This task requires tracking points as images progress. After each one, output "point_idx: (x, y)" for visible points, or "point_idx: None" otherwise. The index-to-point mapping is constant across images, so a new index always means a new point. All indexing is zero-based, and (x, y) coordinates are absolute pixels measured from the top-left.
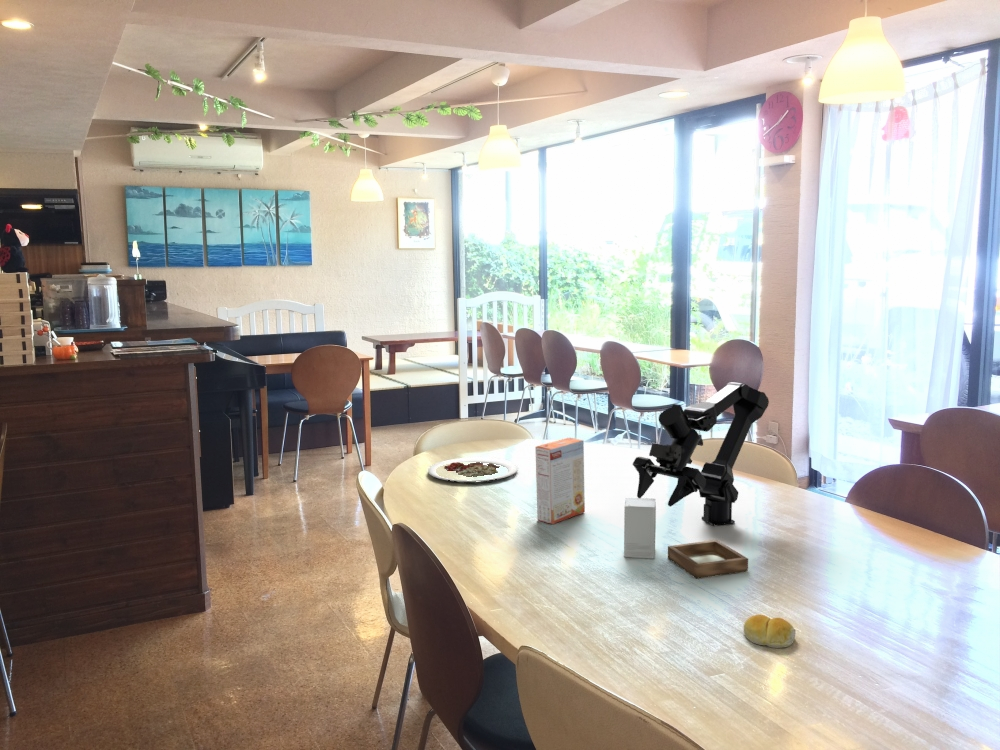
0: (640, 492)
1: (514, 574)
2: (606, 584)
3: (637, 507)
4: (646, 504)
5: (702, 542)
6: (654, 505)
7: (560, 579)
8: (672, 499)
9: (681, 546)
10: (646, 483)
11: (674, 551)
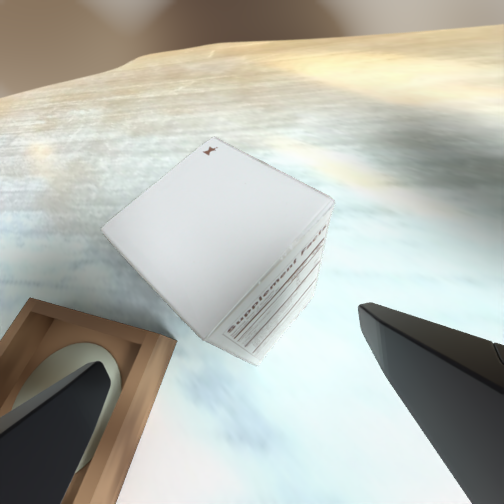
0: (376, 327)
1: (294, 81)
2: (174, 162)
3: (170, 173)
4: (156, 215)
5: (87, 486)
6: (118, 243)
7: (236, 120)
8: (44, 393)
9: (130, 375)
10: (499, 475)
11: (125, 324)
